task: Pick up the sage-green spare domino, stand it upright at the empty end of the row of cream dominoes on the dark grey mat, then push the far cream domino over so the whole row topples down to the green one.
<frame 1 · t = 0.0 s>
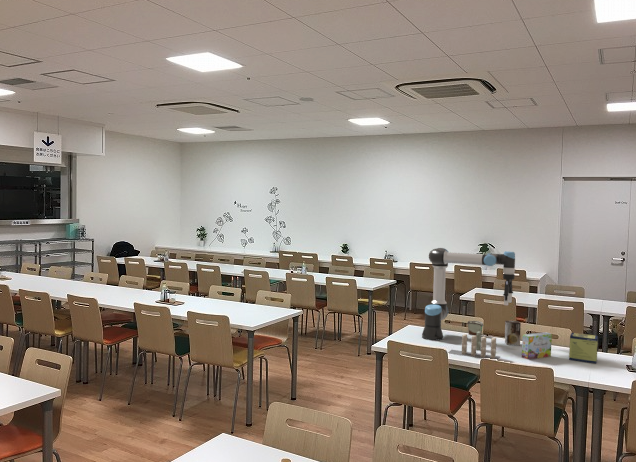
hand: (507, 303, 369), 28 cm above the table, tool pointing down, fingers open, 13 cm apart
food container: (476, 335, 395), on the table
tile 2: (483, 356, 333), resting on mat
tile 3: (473, 354, 336), resting on mat
tile 1: (493, 357, 330), resting on mat
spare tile: (478, 350, 350), on the table
coffee box: (512, 344, 368), on the table
mat: (473, 355, 336), on the table
snack box: (536, 357, 335), on the table
tile 4: (464, 353, 339), resting on mat
protein box: (582, 360, 331), on the table
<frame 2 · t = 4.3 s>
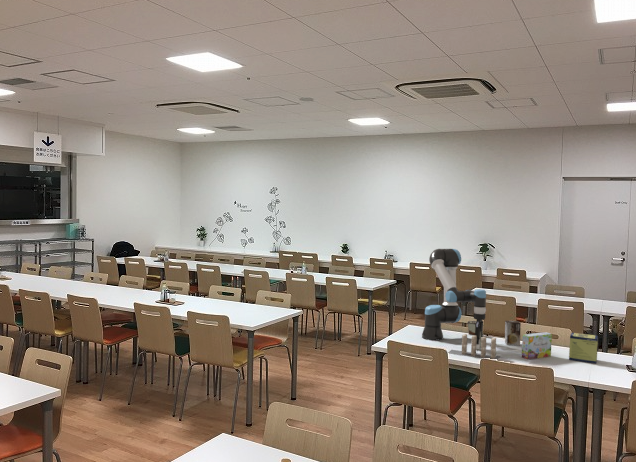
hand: (478, 347, 350), 2 cm above the table, tool pointing down, fingers closed on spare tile, 5 cm apart
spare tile: (478, 350, 350), on the table, touching gripper
everything else where it was.
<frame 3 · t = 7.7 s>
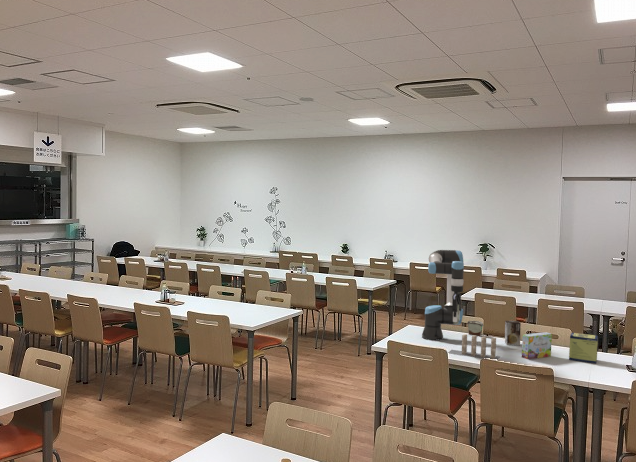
hand: (456, 321, 341), 21 cm above the table, tool pointing down, fingers closed on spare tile, 5 cm apart
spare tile: (456, 323, 341), point 19 cm above the table, touching gripper
everything else where it was.
when the fingers open (3 cm above the table, at t = 11.4 s): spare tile stays where it is, resting on mat.
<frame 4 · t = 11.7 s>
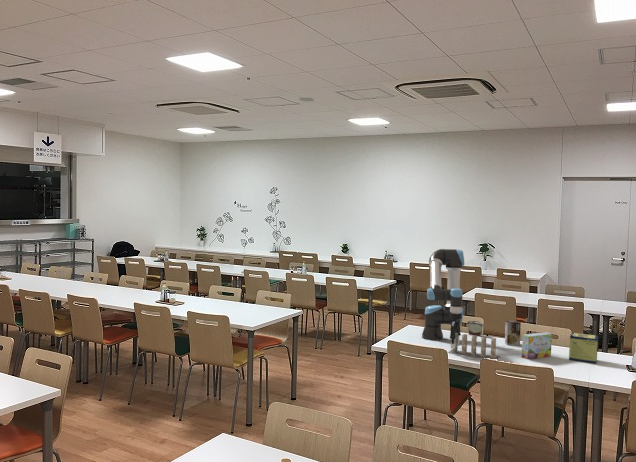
hand: (454, 347, 341), 4 cm above the table, tool pointing down, fingers open, 9 cm apart
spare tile: (454, 352, 342), resting on mat
everything else where it was.
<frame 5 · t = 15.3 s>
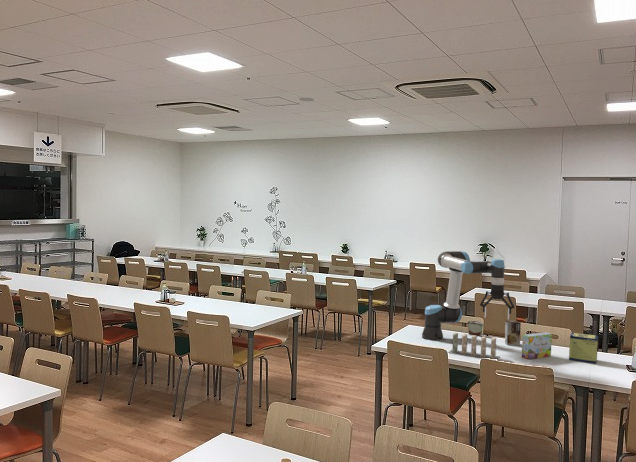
hand: (496, 318, 328), 26 cm above the table, tool pointing down, fingers open, 13 cm apart
nothing on the table moved.
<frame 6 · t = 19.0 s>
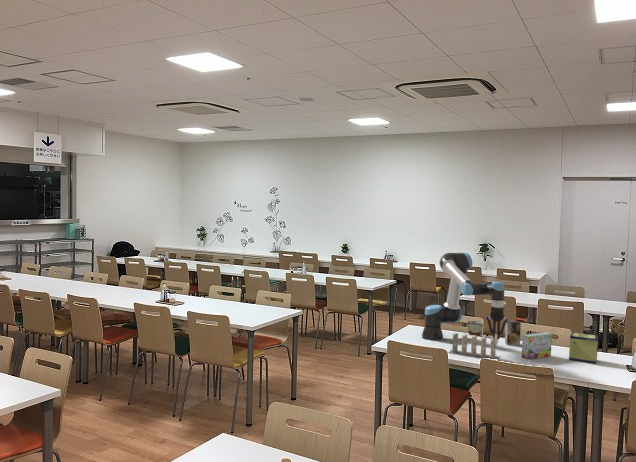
hand: (496, 344, 329), 9 cm above the table, tool pointing down, fingers closed
tile 1: (493, 357, 330), point 1 cm above the table, touching gripper, mat
everything else where it was.
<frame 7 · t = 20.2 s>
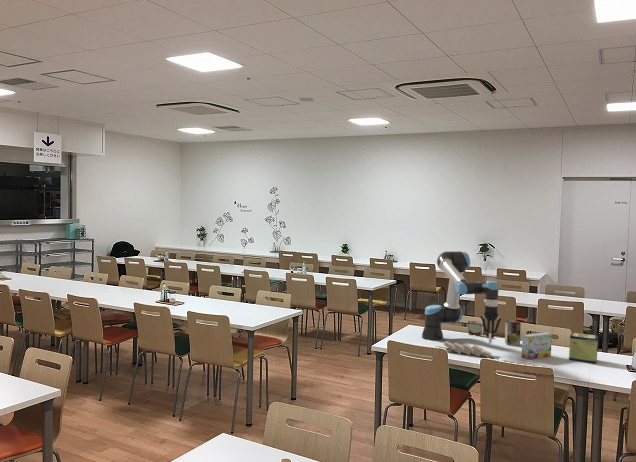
hand: (490, 343, 331), 9 cm above the table, tool pointing down, fingers closed
tile 2: (481, 354, 333), point 1 cm above the table, tilted 70°, touching mat, tile 1, tile 3
tile 3: (471, 353, 336), point 1 cm above the table, tilted 70°, touching mat, tile 2, tile 4
tile 1: (491, 355, 330), point 1 cm above the table, tilted 70°, touching tile 2
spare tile: (452, 350, 342), point 2 cm above the table, tilted 93°, touching mat, tile 4
tile 4: (462, 351, 339), point 1 cm above the table, tilted 70°, touching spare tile, tile 3
everything else where it was.
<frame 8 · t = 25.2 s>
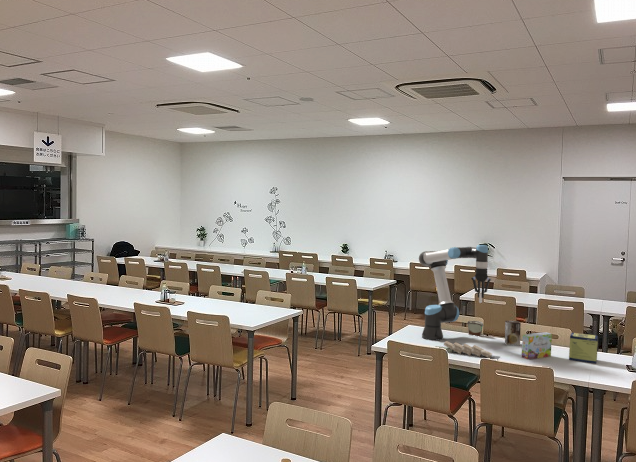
hand: (480, 302, 358), 30 cm above the table, tool pointing down, fingers closed
nothing on the table moved.
at the end: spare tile tilted 93°; tile 1 tilted 70°; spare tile inside the target area (1.7 cm from its centre), point 1.6 cm above the table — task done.
